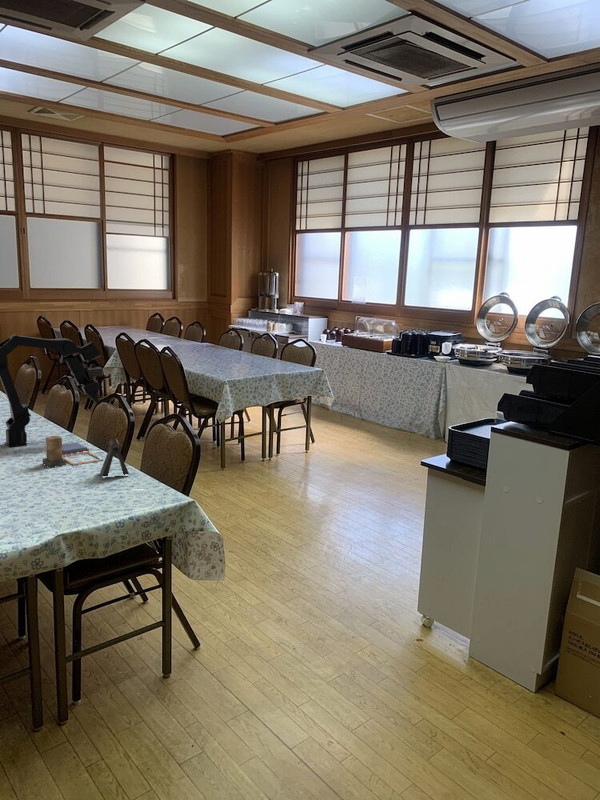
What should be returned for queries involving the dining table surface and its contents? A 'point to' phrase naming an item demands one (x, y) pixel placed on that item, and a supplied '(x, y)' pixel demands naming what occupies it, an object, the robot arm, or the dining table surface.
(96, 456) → the marked frame
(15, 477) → the dining table surface
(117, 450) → the dark brown a-frame stand
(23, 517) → the dining table surface
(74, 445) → the ink pad
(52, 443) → the stamp
